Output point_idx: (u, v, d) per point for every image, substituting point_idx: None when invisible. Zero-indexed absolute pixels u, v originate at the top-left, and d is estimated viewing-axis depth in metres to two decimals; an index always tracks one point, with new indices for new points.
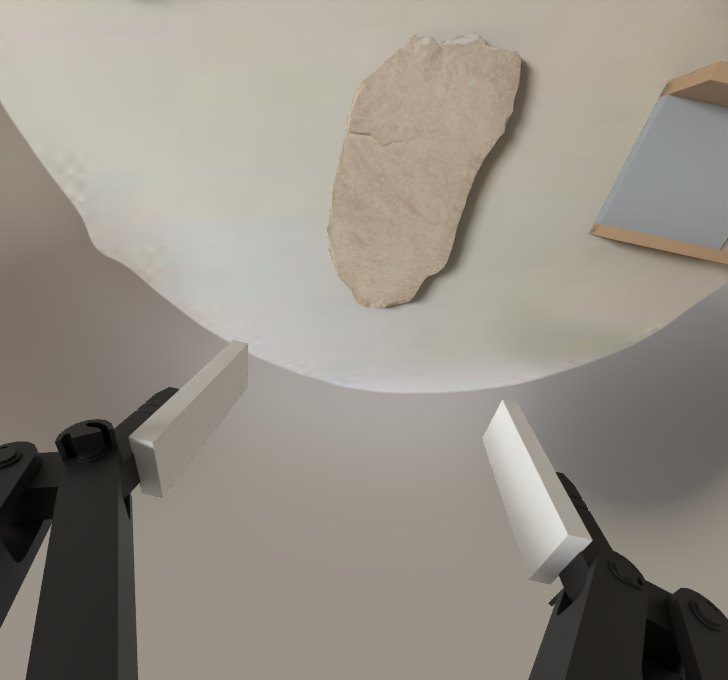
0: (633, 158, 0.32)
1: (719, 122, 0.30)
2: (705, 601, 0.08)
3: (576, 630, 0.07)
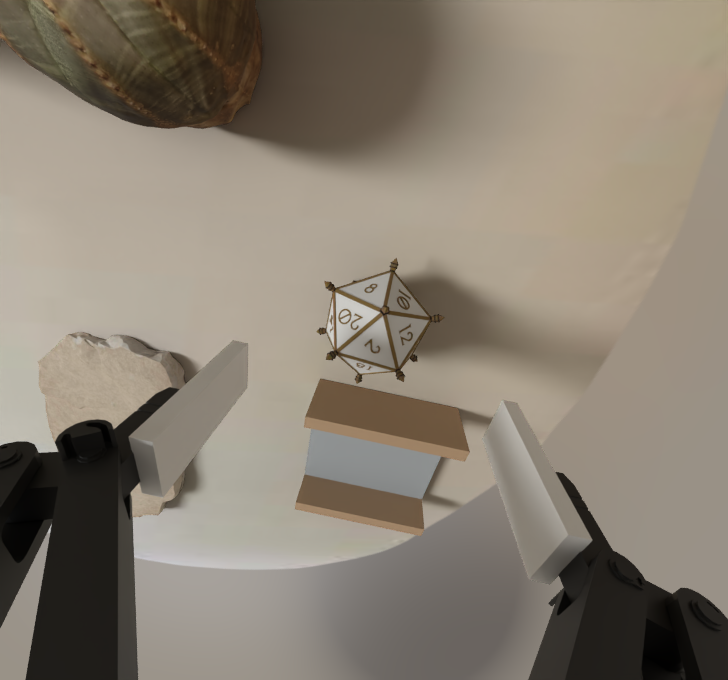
0: (311, 433, 0.32)
1: None
2: (705, 602, 0.08)
3: (576, 630, 0.07)
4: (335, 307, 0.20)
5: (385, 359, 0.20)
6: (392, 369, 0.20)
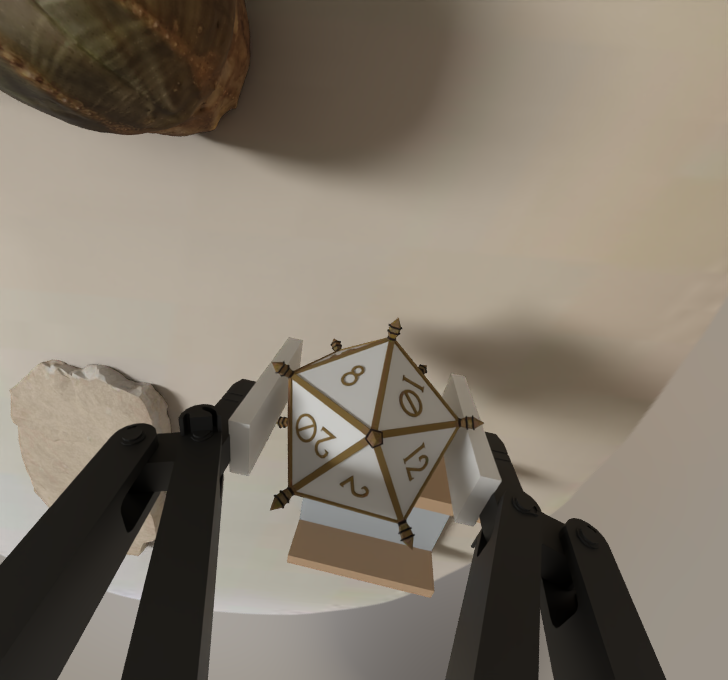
0: None
1: None
2: (586, 526, 0.10)
3: (490, 568, 0.08)
4: (291, 407, 0.12)
5: (379, 506, 0.11)
6: (392, 521, 0.11)
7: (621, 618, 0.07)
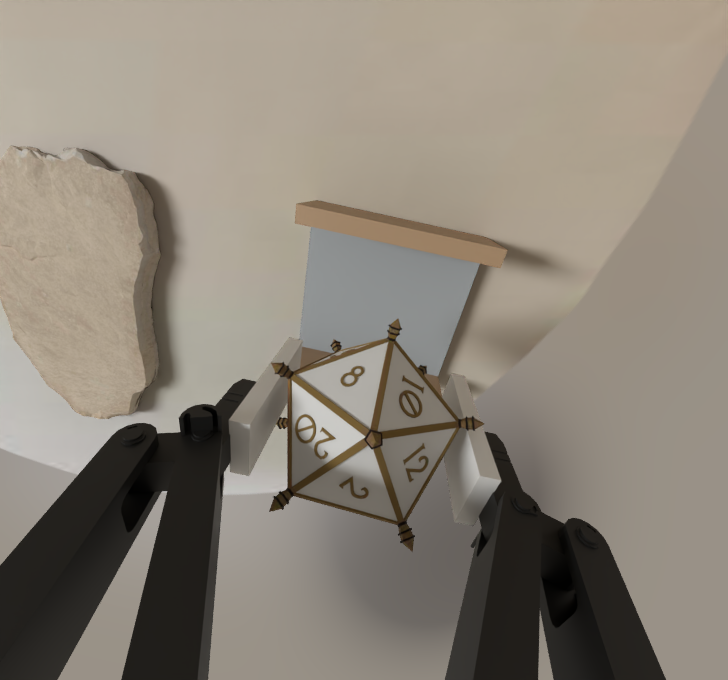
0: None
1: (381, 247, 0.25)
2: (586, 525, 0.10)
3: (490, 568, 0.08)
4: (291, 408, 0.12)
5: (378, 507, 0.11)
6: (392, 522, 0.11)
7: (621, 618, 0.07)
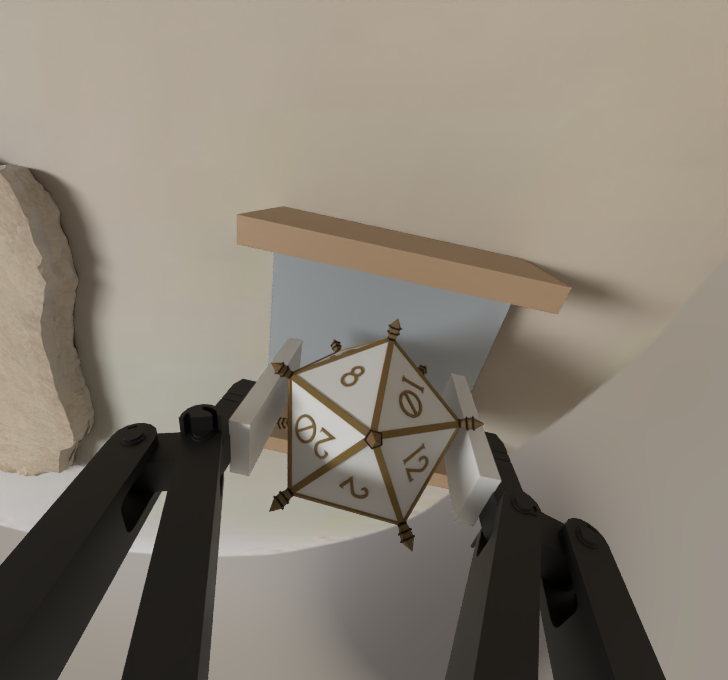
0: (271, 316, 0.19)
1: (374, 273, 0.17)
2: (586, 526, 0.10)
3: (490, 568, 0.08)
4: (291, 408, 0.12)
5: (378, 507, 0.11)
6: (392, 522, 0.11)
7: (621, 618, 0.07)
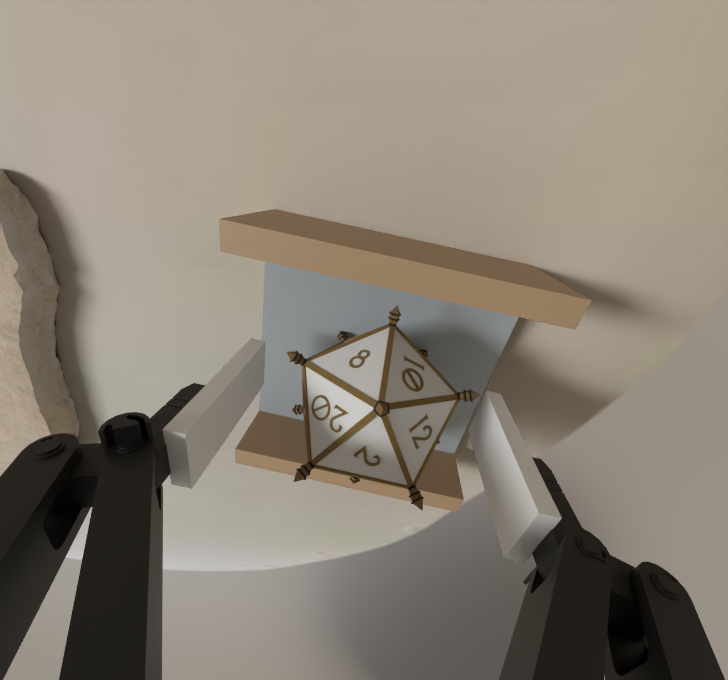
0: (263, 326, 0.18)
1: None
2: (663, 573, 0.09)
3: (548, 607, 0.07)
4: (306, 391, 0.13)
5: (390, 473, 0.12)
6: (402, 486, 0.12)
7: None
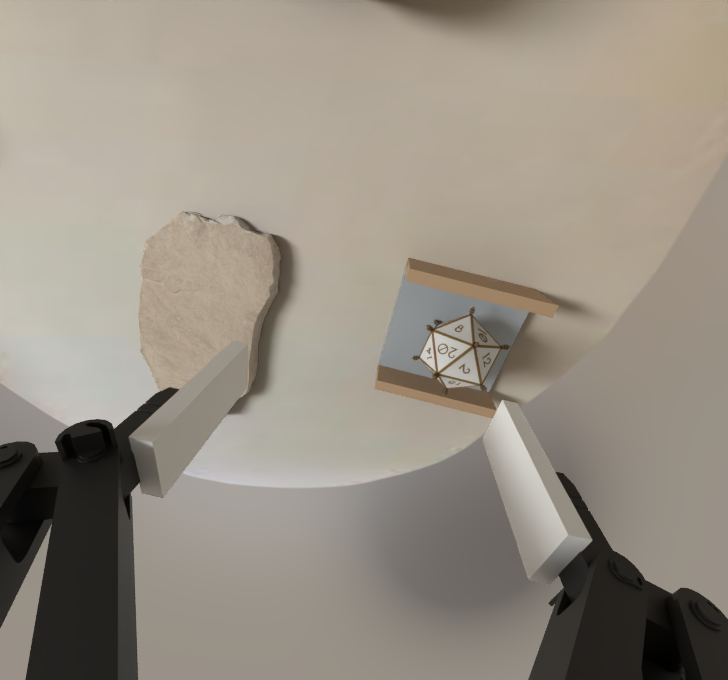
0: (392, 316, 0.35)
1: (456, 294, 0.33)
2: (705, 601, 0.08)
3: (576, 629, 0.07)
4: (434, 342, 0.29)
5: (472, 377, 0.28)
6: (477, 384, 0.29)
7: None
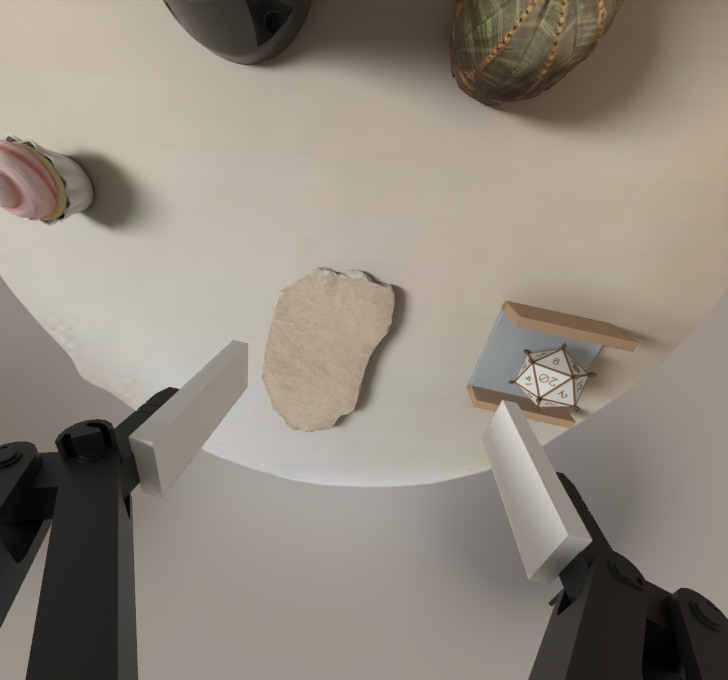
0: (487, 347, 0.42)
1: None
2: (705, 601, 0.08)
3: (576, 630, 0.07)
4: (535, 372, 0.36)
5: (568, 400, 0.36)
6: (572, 405, 0.36)
7: None
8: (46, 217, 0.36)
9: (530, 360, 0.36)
